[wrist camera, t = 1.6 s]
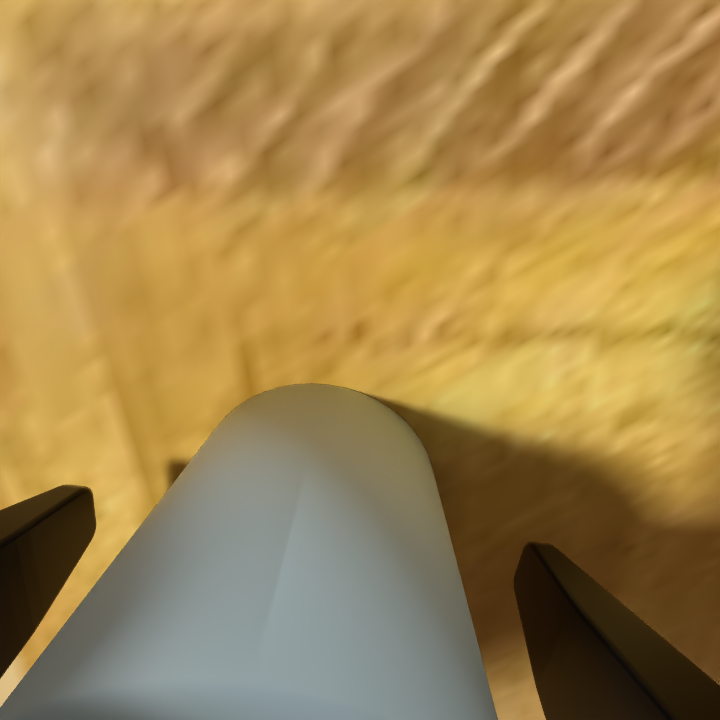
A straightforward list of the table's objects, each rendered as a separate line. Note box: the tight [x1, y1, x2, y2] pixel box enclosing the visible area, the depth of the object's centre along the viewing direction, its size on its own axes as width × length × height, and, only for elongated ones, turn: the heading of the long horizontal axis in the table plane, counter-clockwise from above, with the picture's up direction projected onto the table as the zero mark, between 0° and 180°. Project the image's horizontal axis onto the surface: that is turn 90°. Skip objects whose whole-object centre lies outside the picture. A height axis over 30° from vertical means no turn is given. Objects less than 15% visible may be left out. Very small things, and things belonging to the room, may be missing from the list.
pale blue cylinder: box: [0, 383, 498, 720], centre depth 6 cm, size 5×5×5 cm
